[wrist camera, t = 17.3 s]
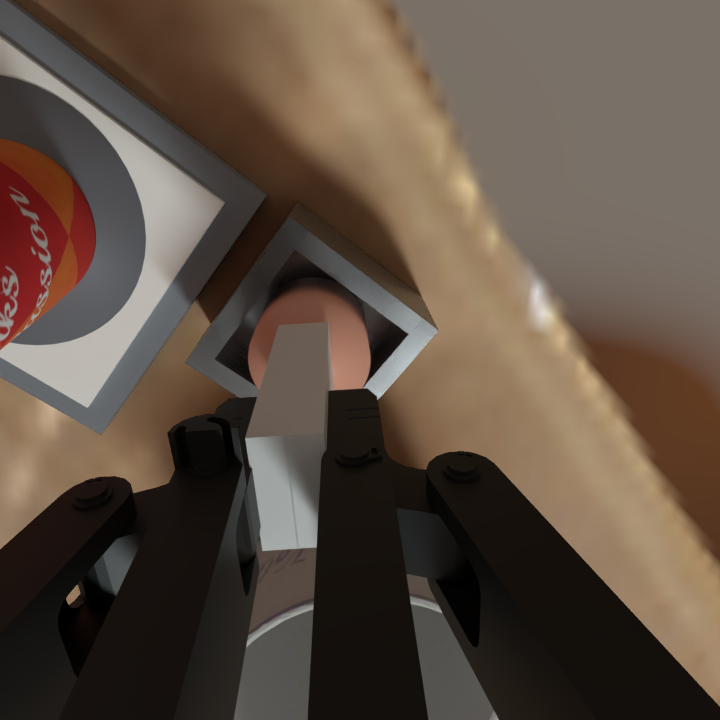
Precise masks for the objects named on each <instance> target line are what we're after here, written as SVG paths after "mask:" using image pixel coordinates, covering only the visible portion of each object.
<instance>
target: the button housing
mask: <svg viewBox="0 0 720 720" xmlns="http://www.w3.org/2000/svg"><path fill="white" fill-rule="evenodd" d="M309 277H315V278H323V279H328V280H331V281H334V282H336V283H338V284H340V285H341V286H343V287H344V288H346V289H347V290H348V291H349V292H351V293H352V295H353V296H354V297H355V298H356V299H357V301H358V302H359V304H360V306H361V308H362V310H363V313H364V316H365V321H366V327H367V334H368V341H369V348H370V359H371V362H370V370H369V374H368V377H367V380H366V382H365V384H364V386H363V388H368V389H369V390H370V391H371V392H372V393H374V394H375V395H376V396H377V400H378V399H379V398H380V397H381V396H382V395H383V394H384V392H385V391H386V390H387V389H388V388H389V387H390V386H391V384H392V383H393V382H394V381H395V380H396V379H397V378H398V376H399V375H400V374H401V373H402V372H403V371H404V370H405V368H406V367H407V366H408V365H409V364H410V363H411V362H412V360H413V359H414V358H415V357H416V356H417V355H418V354H419V352H420V351H421V350H422V349H423V348H424V347H425V346H426V344H427V343H428V342H429V341H430V340H431V339H432V338H433V336H434V335H435V334H436V333H437V332H438V331H439V330H438V328H437V326H436V324H435V322H434V320H433V318H432V316H431V314H430V312H429V310H428V308H427V306H426V304H425V302H424V300H423V298H422V296H420V295H419V294H418V293H416V292H415V291H414V290H413V289H411V288H410V287H409V286H407V285H406V284H405V283H404V282H402V281H401V280H400V279H398V278H397V277H396V276H395V275H393V274H392V273H391V272H389V271H388V270H387V269H385V268H384V267H383V266H382V265H380V264H379V263H378V262H376V261H375V260H374V259H373V258H371V257H370V256H369V255H367V254H366V253H365V252H364V251H362V250H361V249H360V248H358V247H357V246H356V245H354V244H353V243H352V242H351V241H349V240H348V239H347V238H345V237H344V236H343V235H342V234H340V233H339V232H338V231H336V230H335V229H334V228H333V227H331V226H330V225H329V224H327V223H326V222H325V221H323V220H322V219H321V218H320V217H318V216H317V215H316V214H314V213H313V212H312V211H311V210H309V209H308V208H307V207H305V206H304V205H303V204H302V203H300V202H299V201H298V202H297V203H296V205H295V206H294V208H293V209H292V210H291V212H290V213H289V215H288V216H287V217H286V219H285V220H284V222H283V223H282V224H281V226H280V227H279V229H278V230H277V231H276V233H275V234H274V236H273V237H272V238H271V240H270V241H269V243H268V244H267V245H266V247H265V248H264V250H263V251H262V252H261V254H260V255H259V257H258V258H257V259H256V261H255V262H254V264H253V265H252V266H251V268H250V269H249V271H248V272H247V273H246V275H245V276H244V278H243V279H242V280H241V282H240V283H239V285H238V286H237V287H236V289H235V290H234V292H233V293H232V294H231V296H230V297H229V299H228V300H227V301H226V303H225V304H224V306H223V307H222V308H221V310H220V311H219V313H218V314H217V315H216V317H215V318H214V320H213V321H212V322H211V324H210V325H209V327H208V328H207V330H206V331H205V333H204V334H203V336H202V338H201V339H200V341H199V342H198V344H197V345H196V347H195V348H194V350H193V351H192V353H191V354H190V356H189V357H188V359H187V361H186V362H185V363H186V364H187V365H189V366H190V367H192V368H193V369H195V370H197V371H198V372H200V373H201V374H203V375H204V376H206V377H208V378H209V379H211V380H212V381H214V382H215V383H217V384H219V385H220V386H222V387H223V388H225V389H226V390H228V391H230V392H231V393H233V394H234V395H236V396H237V397H239V398H244V397H257V396H258V393H259V389H258V388H257V386H256V385H255V383H254V381H253V379H252V376H251V373H250V370H249V364H248V351H249V345H250V342H251V339H252V336H253V334H254V332H255V329H256V327H257V324H258V322H259V319H260V317H261V314H262V312H263V310H264V307H265V305H266V303H267V302H268V300H269V299H270V297H271V296H272V295H273V294H274V293H275V292H276V291H277V290H278V289H279V288H281V287H282V286H284V285H285V284H287V283H289V282H291V281H294V280H297V279H301V278H309Z"/></svg>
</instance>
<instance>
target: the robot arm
mask: <svg viewBox="0 0 720 720" xmlns="http://www.w3.org/2000/svg"><path fill="white" fill-rule="evenodd" d="M168 438H169V443H170V447H171V452H172V456H173V461H174V466H175V471H174V473H173V476H172V478H171V480H170V482H169V483H168V484H166V485H162V486H159V487H156V488H153V489H149V490H145V491H141V492H137V493H133V491H132V487H131V484H130V483H129V482H128V481H127V480H126V479H124V478H120V477H116V476H111V477H97V478H95V479H93V478H92V479H89V480H86V481H84V482H82V483H80V484H78V485H76V486H73V487H72V488H70V489H69V490H68V491H66V492H65V493H63V494H62V495H61V496H60V497H58V498H57V499H56V500H55V501H54V502H53V503H52V504H51V505H50V506H48V507H47V508H46V509H45V510H44V511H43V512H42V513H41V514H39V515H38V516H37V517H36V518H35V519H34V520H33V521H32V522H30V523H29V524H28V525H27V526H26V527H25V528H24V529H23V530H22V531H20V532H19V533H18V534H17V535H16V536H15V537H14V538H13V539H11V540H10V541H9V542H8V543H7V544H6V545H5V546H4V547H2V548H1V549H0V720H234V715H235V709H236V703H237V697H238V691H239V686H240V680H241V674H242V668H243V662H244V656H245V651H246V645H247V639H248V633H249V627H250V622H251V616H252V610H253V604H254V598H255V592H256V587H257V581H258V575H259V560H258V554H257V544H258V538H259V533H260V538H261V545H262V551H270V550H285V549H299V548H314V547H317V549H316V568H315V587H314V606H313V625H312V644H311V663H310V683H309V702H308V720H428V713H427V706H426V700H425V693H424V687H423V680H422V673H421V667H420V660H419V654H418V647H417V641H416V634H415V627H414V621H413V614H412V608H411V601H410V595H409V588H408V581H407V575H406V574H410V575H415V576H420V577H425V578H427V581H428V584H429V588H430V590H431V592H432V594H433V596H434V598H435V600H436V602H437V603H438V605H439V607H440V609H441V611H442V613H443V615H444V617H445V619H446V620H447V622H448V624H449V626H450V628H451V630H452V632H453V634H454V636H455V638H456V639H457V641H458V643H459V645H460V647H461V649H462V651H463V653H464V655H465V657H466V658H467V660H468V662H469V664H470V666H471V668H472V670H473V672H474V674H475V675H476V677H477V679H478V681H479V683H480V685H481V687H482V689H483V691H484V693H485V694H486V696H487V698H488V700H489V702H490V704H491V706H492V708H493V710H494V712H495V713H496V715H497V717H498V719H499V720H720V707H719V706H718V704H717V703H716V702H715V701H714V700H713V699H712V698H711V697H710V696H709V695H708V694H707V693H706V691H705V690H704V689H703V688H702V687H701V686H700V685H699V684H698V683H697V682H696V681H695V680H694V679H693V677H692V676H691V675H690V674H689V673H688V672H687V671H686V670H685V669H684V668H683V667H682V666H681V664H680V663H679V662H678V661H677V660H676V659H675V658H674V657H673V656H672V655H671V654H670V653H669V652H668V650H667V649H666V648H665V647H664V646H663V645H662V644H661V643H660V642H659V641H658V640H657V639H656V637H655V636H654V635H653V634H652V633H651V632H650V631H649V630H648V629H647V628H646V627H645V626H644V625H643V623H642V622H641V621H640V620H639V619H638V618H637V617H636V616H635V615H634V614H633V613H632V612H631V611H630V609H629V608H628V607H627V606H626V605H625V604H624V603H623V602H622V601H621V600H620V599H619V598H618V596H617V595H616V594H615V593H614V592H613V591H612V590H611V589H610V588H609V587H608V586H607V585H606V584H605V582H604V581H603V580H602V579H601V578H600V577H599V576H598V575H597V574H596V573H595V572H594V571H593V569H592V568H591V567H590V566H589V565H588V564H587V563H586V562H585V561H584V560H583V559H582V558H581V557H580V555H579V554H578V553H577V552H576V551H575V550H574V549H573V548H572V547H571V546H570V545H569V544H568V542H567V541H566V540H565V539H564V538H563V537H562V536H561V535H560V534H559V533H558V532H557V531H556V530H555V528H554V527H553V526H552V525H551V524H550V523H549V522H548V521H547V520H546V519H545V518H544V517H543V516H542V514H541V513H540V512H539V511H538V510H537V509H536V508H535V507H534V506H533V505H532V504H531V503H530V501H529V500H528V499H527V498H526V497H525V496H524V495H523V494H522V493H521V492H520V491H519V490H518V489H517V487H516V486H515V485H514V484H513V483H512V482H511V481H510V480H509V479H508V478H507V477H506V476H505V474H504V473H503V472H502V471H501V470H500V469H499V468H498V467H497V466H496V465H495V464H494V463H493V462H492V461H490V460H489V459H487V458H486V457H484V456H481V455H478V454H475V453H471V452H465V451H457V452H447V453H444V454H442V455H439V456H436V457H435V458H434V459H432V460H431V461H430V462H429V464H428V466H427V469H426V470H422V469H415V468H411V467H406V466H404V465H401V464H398V463H397V462H395V461H393V460H392V459H391V458H390V457H389V456H388V454H387V452H386V450H385V447H384V440H383V433H382V427H381V420H380V413H379V406H378V400H377V396H376V395H375V394H374V393H372V392H371V391H370V390H369V389H368V388H362V389H346V390H334V385H333V372H332V359H331V346H330V334H329V322H318V323H302V324H286V325H278V329H277V332H276V335H275V339H274V342H273V346H272V349H271V352H270V356H269V359H268V363H267V366H266V369H265V373H264V376H263V379H262V383H261V386H260V390H259V393H258V396H257V397H244V398H229V399H228V400H227V401H225V402H224V403H223V404H222V405H221V406H219V407H218V408H217V409H216V412H215V414H206V415H200V416H195V417H192V418H189V419H186V420H183V421H182V422H180V423H178V424H176V425H175V426H173V427H172V428H171V429H170V431H169V432H168ZM77 584H78V587H79V590H80V593H81V594H80V595H79V596H78V597H77V598H76V600H75V601H74V602H73V603H71V604H70V605H68V603H67V601H66V597H67V596H68V594H69V593H70V592H71V591H72V590H73V589H74V587H75V586H76V585H77Z"/></svg>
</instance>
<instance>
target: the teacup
mask: <svg viewBox="0 0 720 720" xmlns="http://www.w3.org/2000/svg"><path fill="white" fill-rule="evenodd" d="M316 549H317V547H314V548H299V549H285V550H270V551H262V545H261V538H260V539H259V540H258V544H257V554H258V560H259V575H258V581H257V587H256V592H255V598H254V604H253V610H252V616H251V622H250V627H249V633H248V639H247V645H246V651H245V656H244V662H243V668H242V674H241V680H240V686H239V691H238V697H237V703H236V709H235V715H234V720H308V702H309V683H310V663H311V644H312V625H313V606H314V587H315V568H316ZM406 575H407V581H408V588H409V595H410V601H411V608H412V614H413V621H414V627H415V634H416V641H417V647H418V654H419V660H420V667H421V673H422V680H423V687H424V693H425V700H426V706H427V713H428V720H499V719H498V717H497V715H496V713H495V712H494V710H493V708H492V706H491V704H490V702H489V700H488V698H487V696H486V694H485V693H484V691H483V689H482V687H481V685H480V683H479V681H478V679H477V677H476V675H475V674H474V672H473V670H472V668H471V666H470V664H469V662H468V660H467V658H466V657H465V655H464V653H463V651H462V649H461V647H460V645H459V643H458V641H457V639H456V638H455V636H454V634H453V632H452V630H451V628H450V626H449V624H448V622H447V620H446V619H445V617H444V615H443V613H442V611H441V609H440V607H439V605H438V603H437V602H436V600H435V598H434V596H433V594H432V592H431V590H430V588H429V584H428V581H427V578H425V577H420V576H415V575H410V574H406Z"/></svg>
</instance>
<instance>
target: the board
mask: <svg viewBox="0 0 720 720" xmlns="http://www.w3.org/2000/svg"><path fill="white" fill-rule="evenodd" d="M0 139H5V140H10V141H14V142H18V143H21V144H24V145H26V146H29V147H31V148H34V149H36V150H38V151H40V152H42V153H43V154H45V155H47V156H48V157H50V158H51V159H52V160H54V161H55V162H56V163H58V164H59V165H60V166H61V167H62V168H63V169H64V170H65V171H66V172H67V173H68V174H69V175H70V176H71V177H72V178H73V179H74V181H75V182H76V183H77V185H78V186H79V187H80V189H81V190H82V192H83V194H84V196H85V197H86V199H87V201H88V204H89V206H90V209H91V211H92V214H93V218H94V222H95V229H96V247H95V253H94V257H93V260H92V263H91V265H90V267H89V269H88V271H87V272H86V274H85V275H84V277H83V278H82V280H81V281H80V282H79V283H78V284H77V285H76V286H75V287H74V288H73V289H72V290H71V291H70V292H69V293H68V294H67V295H66V296H64V297H63V298H62V299H61V300H60V301H59V302H58V303H56V304H55V305H54V306H53V307H52V308H51V309H49V310H48V311H47V312H46V313H45V314H43V315H42V316H41V317H40V318H39V319H37V320H36V321H35V322H34V323H33V324H31V325H30V326H29V327H28V328H27V329H25V330H24V331H23V332H22V333H21V334H19V335H18V336H17V337H16V338H15V339H13V340H12V341H11V342H10V343H8V344H7V345H6V346H5V347H4V348H2V349H1V350H0V377H1V378H3V379H5V380H6V381H8V382H10V383H12V384H13V385H15V386H17V387H19V388H20V389H22V390H24V391H26V392H27V393H29V394H31V395H33V396H34V397H36V398H38V399H40V400H41V401H43V402H45V403H47V404H48V405H50V406H52V407H54V408H55V409H57V410H59V411H61V412H62V413H64V414H66V415H68V416H69V417H71V418H73V419H75V420H76V421H78V422H80V423H82V424H83V425H85V426H87V427H89V428H90V429H92V430H94V431H96V432H97V433H99V434H102V433H103V431H104V430H105V429H106V428H107V426H108V425H109V423H110V422H111V421H112V419H113V418H114V416H115V415H116V413H117V412H118V410H119V409H120V408H121V406H122V405H123V403H124V402H125V400H126V399H127V397H128V396H129V395H130V393H131V392H132V390H133V389H134V387H135V386H136V385H137V383H138V382H139V380H140V379H141V377H142V376H143V374H144V373H145V372H146V370H147V369H148V367H149V366H150V364H151V363H152V361H153V360H154V359H155V357H156V356H157V354H158V353H159V351H160V350H161V348H162V347H163V346H164V344H165V343H166V341H167V340H168V338H169V337H170V335H171V334H172V333H173V331H174V330H175V328H176V327H177V325H178V324H179V322H180V321H181V320H182V318H183V317H184V315H185V314H186V312H187V311H188V309H189V308H190V307H191V305H192V304H193V302H194V301H195V299H196V298H197V296H198V295H199V294H200V292H201V291H202V289H203V288H204V286H205V285H206V283H207V282H208V281H209V279H210V278H211V276H212V275H213V273H214V272H215V270H216V269H217V268H218V266H219V265H220V263H221V262H222V260H223V259H224V257H225V256H226V255H227V253H228V252H229V250H230V249H231V247H232V246H233V244H234V243H235V242H236V240H237V239H238V237H239V236H240V234H241V233H242V231H243V230H244V229H245V227H246V226H247V224H248V223H249V221H250V220H251V218H252V217H253V216H254V214H255V213H256V211H257V210H258V208H259V207H260V206H261V204H262V203H263V201H264V200H265V198H266V197H267V195H268V194H266V193H265V192H264V191H262V190H261V189H260V188H258V187H257V186H256V185H254V184H253V183H252V182H251V181H249V180H248V179H247V178H245V177H244V176H243V175H241V174H240V173H239V172H237V171H236V170H235V169H233V168H232V167H231V166H230V165H228V164H227V163H226V162H224V161H223V160H222V159H220V158H219V157H218V156H216V155H215V154H214V153H213V152H211V151H210V150H209V149H207V148H206V147H205V146H203V145H202V144H201V143H199V142H198V141H197V140H196V139H194V138H193V137H192V136H190V135H189V134H188V133H186V132H185V131H184V130H182V129H181V128H180V127H179V126H177V125H176V124H175V123H173V122H172V121H171V120H169V119H168V118H167V117H165V116H164V115H163V114H162V113H160V112H159V111H158V110H156V109H155V108H154V107H152V106H151V105H150V104H148V103H147V102H146V101H145V100H143V99H142V98H141V97H139V96H138V95H137V94H135V93H134V92H133V91H131V90H130V89H129V88H128V87H126V86H125V85H124V84H122V83H121V82H120V81H118V80H117V79H116V78H114V77H113V76H112V75H111V74H109V73H108V72H107V71H105V70H104V69H103V68H101V67H100V66H99V65H97V64H96V63H95V62H94V61H92V60H91V59H90V58H88V57H87V56H86V55H84V54H83V53H82V52H80V51H79V50H78V49H77V48H75V47H74V46H73V45H71V44H70V43H69V42H67V41H66V40H65V39H63V38H62V37H61V36H60V35H58V34H57V33H56V32H54V31H53V30H52V29H50V28H49V27H48V26H46V25H45V24H44V23H42V22H41V21H40V20H39V19H37V18H36V17H35V16H33V15H32V14H31V13H29V12H28V11H27V10H25V9H24V8H23V7H22V6H20V5H19V4H18V3H16V2H15V1H14V0H0Z"/></svg>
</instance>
